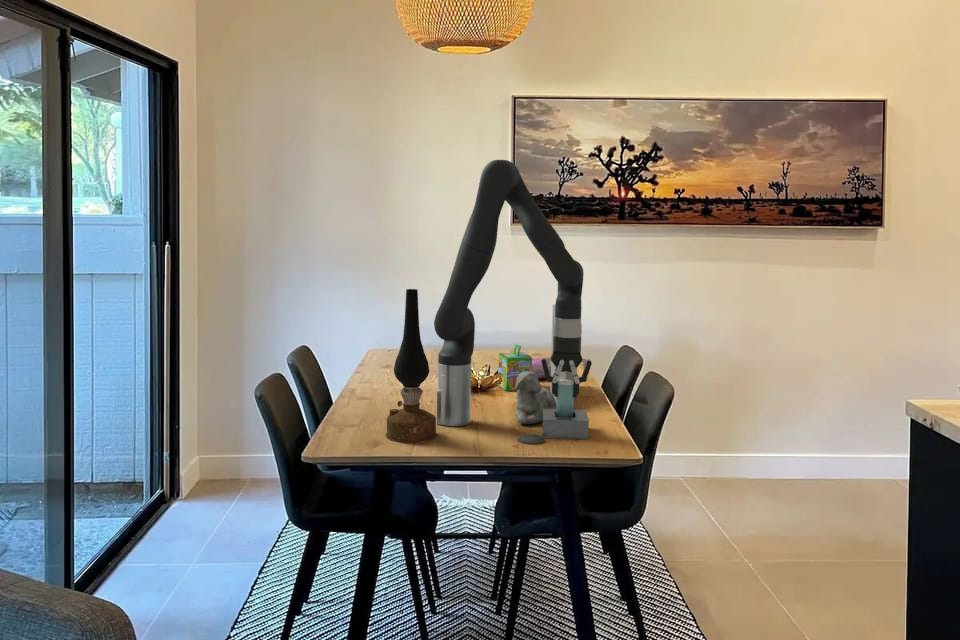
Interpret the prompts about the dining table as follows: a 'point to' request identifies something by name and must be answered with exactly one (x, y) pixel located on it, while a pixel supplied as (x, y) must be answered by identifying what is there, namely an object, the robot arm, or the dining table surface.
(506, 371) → the chalk box
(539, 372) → the pencil case
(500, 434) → the dining table surface
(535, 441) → the coaster
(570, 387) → the teal canister
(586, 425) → the housing
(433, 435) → the oil lamp
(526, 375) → the sculpture
